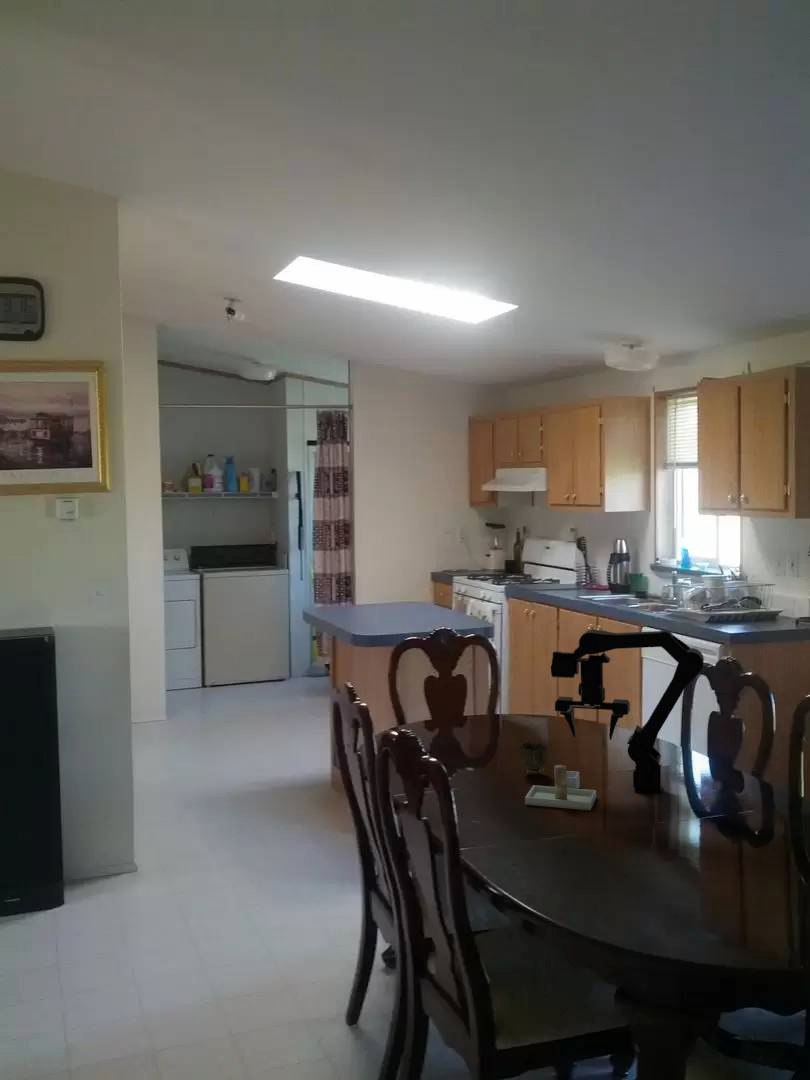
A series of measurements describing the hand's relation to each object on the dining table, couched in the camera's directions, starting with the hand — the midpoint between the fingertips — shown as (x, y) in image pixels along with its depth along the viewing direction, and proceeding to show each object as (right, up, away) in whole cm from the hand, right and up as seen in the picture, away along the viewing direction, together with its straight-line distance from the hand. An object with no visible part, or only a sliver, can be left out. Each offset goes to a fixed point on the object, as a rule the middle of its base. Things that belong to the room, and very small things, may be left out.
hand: (592, 738), depth 243 cm
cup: (-14, -13, +12) cm, 22 cm away
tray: (-10, -13, -11) cm, 20 cm away
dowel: (-10, -13, -11) cm, 20 cm away
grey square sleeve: (-7, -13, -2) cm, 15 cm away
